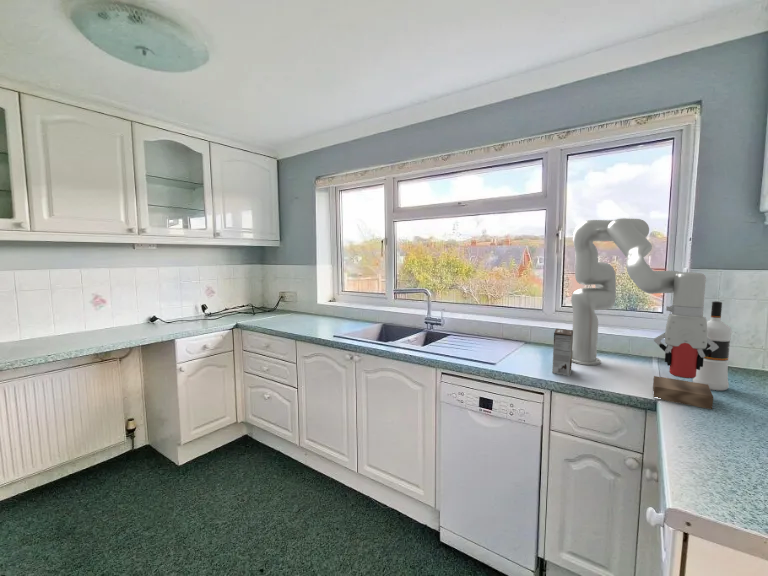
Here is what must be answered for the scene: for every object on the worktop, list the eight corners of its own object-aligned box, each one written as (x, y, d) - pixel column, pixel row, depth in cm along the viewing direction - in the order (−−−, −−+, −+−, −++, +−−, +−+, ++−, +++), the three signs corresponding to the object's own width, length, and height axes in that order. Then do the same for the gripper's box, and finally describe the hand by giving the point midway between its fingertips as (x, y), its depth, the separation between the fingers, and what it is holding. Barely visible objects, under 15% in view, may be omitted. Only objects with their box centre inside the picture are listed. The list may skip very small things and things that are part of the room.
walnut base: (653, 398, 115) (654, 386, 115) (653, 387, 125) (654, 375, 125) (712, 409, 107) (713, 396, 107) (706, 396, 117) (707, 384, 116)
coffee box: (554, 366, 148) (555, 328, 146) (571, 369, 144) (573, 329, 143) (551, 373, 140) (553, 332, 138) (570, 376, 136) (572, 334, 135)
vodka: (685, 381, 130) (692, 299, 127) (712, 382, 130) (719, 299, 127) (707, 391, 121) (714, 303, 118) (736, 391, 120) (744, 303, 117)
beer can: (669, 370, 120) (672, 335, 119) (695, 375, 116) (698, 338, 115) (669, 376, 115) (671, 339, 114) (696, 380, 111) (699, 342, 109)
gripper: (653, 310, 115) (649, 364, 117) (726, 315, 105) (721, 375, 107) (652, 307, 121) (649, 359, 123) (722, 312, 111) (717, 368, 113)
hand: (683, 366), depth 115 cm, fingers closed on beer can, 6 cm apart
